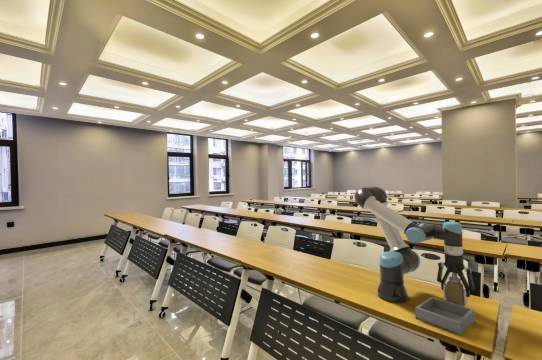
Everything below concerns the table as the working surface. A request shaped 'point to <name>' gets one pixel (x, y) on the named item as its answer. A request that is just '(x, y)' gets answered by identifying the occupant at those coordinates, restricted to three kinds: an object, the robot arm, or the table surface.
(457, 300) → the squeeze bottle
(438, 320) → the bin
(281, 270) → the table surface
